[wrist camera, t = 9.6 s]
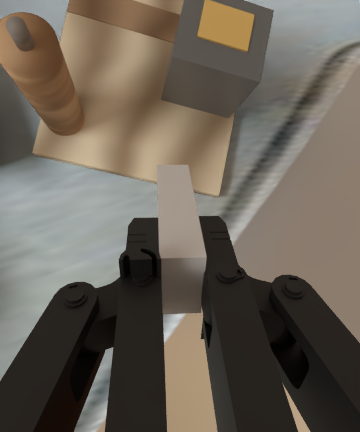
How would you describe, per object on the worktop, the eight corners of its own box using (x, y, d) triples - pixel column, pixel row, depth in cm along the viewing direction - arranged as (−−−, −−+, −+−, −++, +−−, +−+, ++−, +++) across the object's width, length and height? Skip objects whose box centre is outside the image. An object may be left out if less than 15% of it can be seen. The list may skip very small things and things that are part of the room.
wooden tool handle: (40, 130, 30) (-30, 47, 17) (49, 93, 30) (-12, -18, 17) (79, 139, 31) (43, 67, 17) (88, 103, 31) (58, 4, 17)
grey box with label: (160, 100, 32) (172, 54, 24) (173, 43, 33) (188, -20, 24) (228, 118, 33) (261, 80, 25) (239, 62, 34) (274, 8, 25)
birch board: (35, 155, 31) (31, 152, 30) (80, -27, 33) (78, -38, 31) (215, 197, 34) (219, 195, 32) (249, 26, 35) (253, 18, 34)
